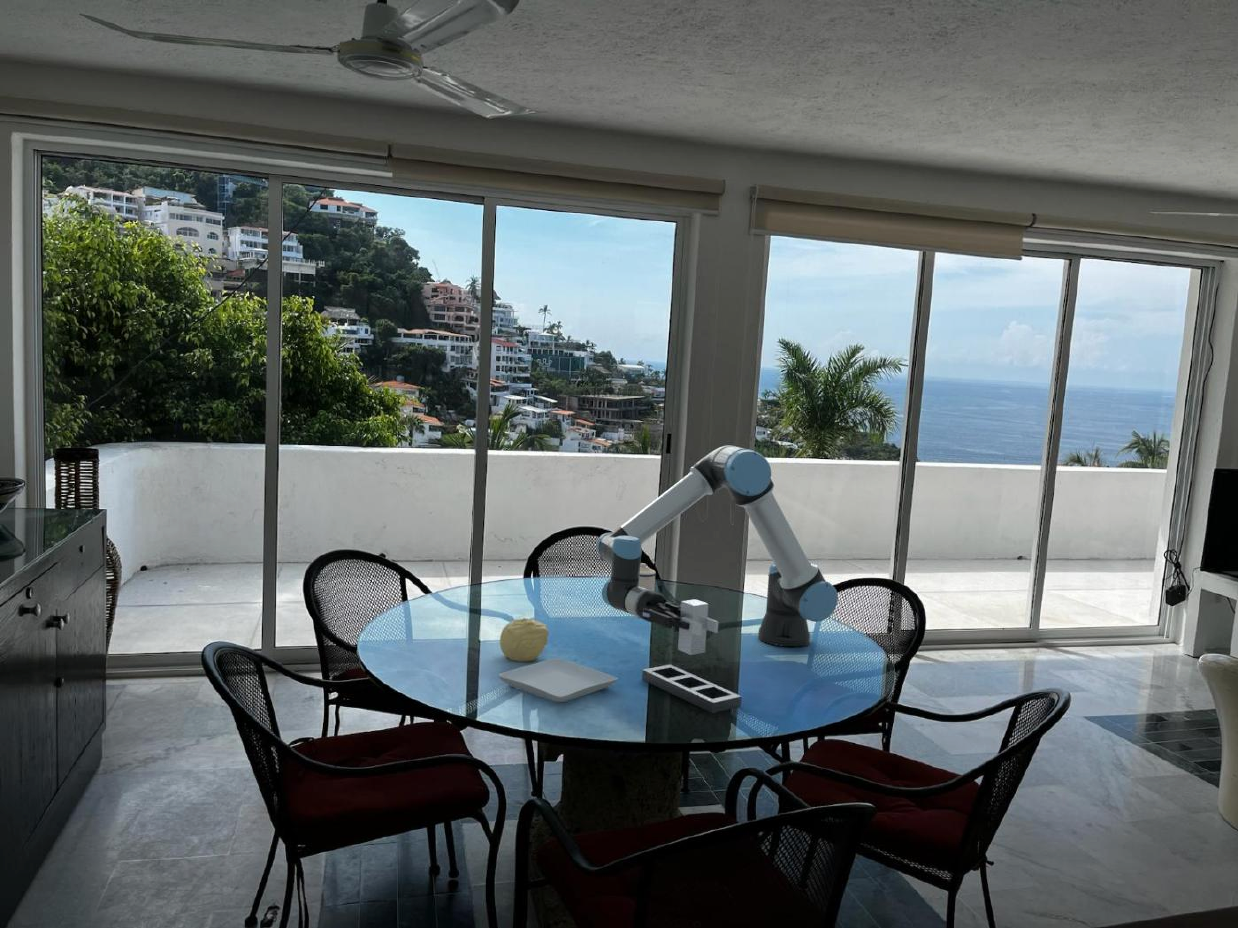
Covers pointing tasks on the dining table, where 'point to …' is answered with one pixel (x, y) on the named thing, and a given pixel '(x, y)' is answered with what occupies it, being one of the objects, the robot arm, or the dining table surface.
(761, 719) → the dining table surface
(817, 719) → the dining table surface
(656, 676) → the rack rail
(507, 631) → the yellow round lump
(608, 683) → the salad plate
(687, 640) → the grey upright post
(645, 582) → the teacup with lid
